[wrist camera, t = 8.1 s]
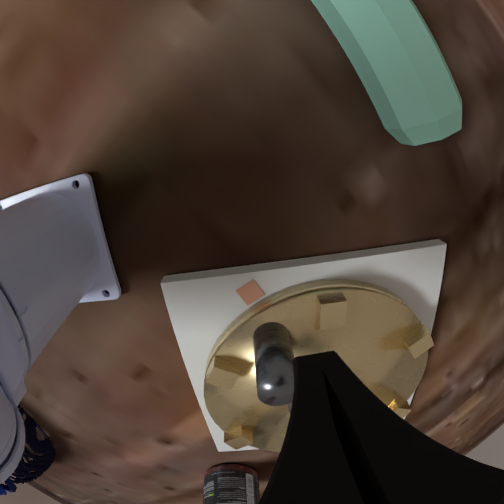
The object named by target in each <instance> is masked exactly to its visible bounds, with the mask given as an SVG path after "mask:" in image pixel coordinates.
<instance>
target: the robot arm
mask: <svg viewBox="0 0 504 504" xmlns="http://www.w3.org/2000/svg"><path fill="white" fill-rule="evenodd" d="M76 180H77V181H78V182H79V188H78V187H76V185H75V182H76ZM1 206H2V209H1ZM105 290H107V291H108V292H109V294H107V293H106V292H105ZM120 295H121V288H120V284H119V281H118V278H117V275H116V272H115V268H114V265H113V262H112V258H111V255H110V251H109V248H108V244H107V240H106V237H105V233H104V229H103V225H102V221H101V217H100V213H99V208H98V204H97V200H96V195H95V190H94V185H93V181H92V178H91V176H90V175H89V174H87V173H83V174H80V175H76V176H73V177H69V178H66V179H62V180H59V181H56V182H53V183H49V184H46V185H43V186H40V187H37V188H34V189H31V190H28V191H25V192H22V193H19V194H17V195H14V196H11V197H8V198H6V199H3V200H0V484H1V483H2V482H4V481H5V480H6V479H7V478H8V477H9V476H10V475H11V474H12V473H13V472H14V470H15V469H16V468H17V466H18V464H19V462H20V460H21V457H22V454H23V451H24V446H25V427H24V422H23V419H22V416H21V414H20V412H19V410H18V408H17V406H18V405H19V403H20V401H21V400H22V398H23V396H24V395H25V393H26V391H27V390H26V387H25V384H24V377H25V375H26V373H27V372H28V371H29V369H30V368H31V366H32V365H33V363H34V362H35V360H36V359H37V357H38V356H39V355H40V353H41V352H42V350H43V349H44V348H45V346H46V345H47V343H48V342H49V341H50V339H51V338H52V337H53V335H54V334H55V333H56V331H57V330H58V329H59V327H60V326H61V325H62V323H63V322H64V321H65V319H66V318H67V317H68V316H69V314H70V313H71V312H72V310H73V309H74V308H75V307H76V305H77V304H78V303H80V302H92V301H103V300H115V299H118V298H119V297H120ZM293 377H294V394H293V401H292V408H291V414H290V418H289V422H288V427H287V431H286V435H285V438H284V442H283V445H282V448H281V451H280V454H279V457H278V460H277V463H276V465H275V468H274V470H273V473H272V475H271V478H270V480H269V482H268V484H267V487H266V489H265V491H264V493H263V495H262V497H261V499H260V501H259V503H258V504H504V470H502V469H499V468H496V467H492V466H489V465H486V464H483V463H480V462H478V461H475V460H473V459H470V458H468V457H466V456H463V455H461V454H459V453H457V452H455V451H453V450H451V449H449V448H448V447H446V446H444V445H442V444H440V443H438V442H436V441H435V440H433V439H431V438H430V437H428V436H427V435H425V434H423V433H422V432H420V431H419V430H417V429H416V428H415V427H413V426H412V425H410V424H409V423H408V422H406V421H405V420H404V419H402V418H401V417H400V416H399V415H397V414H396V413H395V412H394V411H393V410H391V409H390V408H389V407H388V406H387V405H386V404H384V403H383V402H382V401H381V400H380V399H379V398H378V397H377V396H376V395H375V394H374V393H373V392H372V391H371V390H370V389H369V388H368V387H367V386H366V385H365V384H364V383H363V382H362V381H361V380H360V379H359V378H358V377H357V376H356V375H355V374H354V372H353V371H352V370H351V369H350V368H349V367H348V366H347V365H346V363H345V362H344V361H343V360H342V359H341V357H340V356H339V355H338V354H337V352H335V351H334V350H333V351H327V352H322V353H316V354H310V355H304V356H297V357H295V358H294V359H293Z"/></svg>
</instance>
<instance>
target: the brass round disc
mask: <svg viewBox="0 0 504 504" xmlns="http://www.w3.org/2000/svg"><path fill="white" fill-rule="evenodd" d="M432 346H434V343H433V340H432V338H431V335H430V332H429V331H428V330H427V329H426V327H425V326H424V325H423V324H422V323H421V321H420V320H419V319H418V318H417V316H416V315H415V314H414V313H413V311H412V310H411V309H410V308H409V307H408V306H407V304H406V303H405V302H404V301H403V300H402V299H401V298H399V297H398V296H397V295H396V294H394V293H393V292H391V291H389V290H387V289H385V288H384V287H381V286H378V285H375V284H372V283H368V282H363V281H358V280H345V279H335V280H322V281H316V282H311V283H305V284H302V285H298V286H295V287H291V288H288V289H285V290H283V291H281V292H278V293H276V294H273V295H271V296H269V297H267V298H265V299H263V300H262V301H260V302H258V303H256V304H254V305H253V306H251V307H250V308H249V309H247V310H246V311H244V312H243V313H242V314H240V315H239V316H238V317H237V318H236V319H235V320H234V321H233V322H231V323H230V324H229V325H228V326H227V328H226V329H225V330H224V331H223V332H222V334H221V335H220V336H219V337H218V339H217V341H216V342H215V344H214V346H213V347H212V350H211V352H210V355H209V357H208V360H207V365H206V370H205V378H204V400H205V405H206V408H207V410H208V412H209V414H210V416H211V418H212V419H213V420H214V422H215V423H216V424H217V425H218V426H219V427H220V428H221V429H222V430H223V431H224V443H225V444H227V445H229V446H230V447H232V448H233V449H235V450H237V449H240V448H242V447H245V446H248V445H249V446H252V447H255V448H258V449H263V450H268V451H274V452H280V451H281V448H282V445H283V442H284V438H285V435H286V431H287V427H288V422H289V418H290V414H291V408H292V401H293V394H294V377H293V359H294V358H295V357H297V356H304V355H310V354H316V353H322V352H327V351H333V350H334V351H335V352H337V354H338V355H339V356H340V357H341V359H342V360H343V361H344V362H345V363H346V365H347V366H348V367H349V368H350V369H351V370H352V371H353V372H354V374H355V375H356V376H357V377H358V378H359V379H360V380H361V381H362V382H363V383H364V384H365V385H366V386H367V387H368V388H369V389H370V390H371V391H372V392H373V393H374V394H375V395H376V396H377V397H378V398H379V399H380V400H381V401H382V402H383V403H384V404H386V405H387V406H388V407H389V408H390V409H391V410H393V411H394V412H395V413H396V414H397V415H399V416H400V417H401V418H402V419H403V418H404V417H405V416H406V415H407V414H408V413H409V412H410V411H411V410H412V409H411V407H410V406H409V404H408V402H407V400H408V399H409V398H410V397H411V395H412V394H413V392H414V391H415V390H416V388H417V386H418V384H419V383H420V381H421V379H422V376H423V374H424V371H425V368H426V364H427V360H428V350H429V349H430V348H431V347H432Z"/></svg>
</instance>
